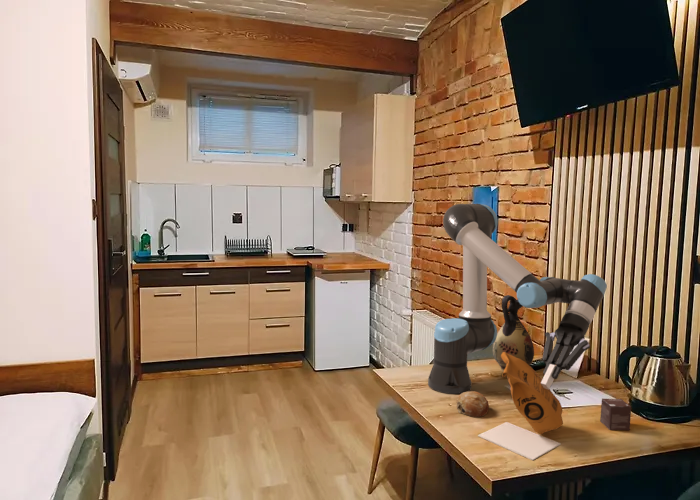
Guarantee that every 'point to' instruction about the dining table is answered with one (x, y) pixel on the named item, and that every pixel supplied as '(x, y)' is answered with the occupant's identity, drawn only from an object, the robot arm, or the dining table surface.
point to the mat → (519, 440)
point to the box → (615, 414)
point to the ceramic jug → (512, 335)
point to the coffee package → (532, 395)
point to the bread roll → (472, 404)
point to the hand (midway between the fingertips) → (544, 386)
